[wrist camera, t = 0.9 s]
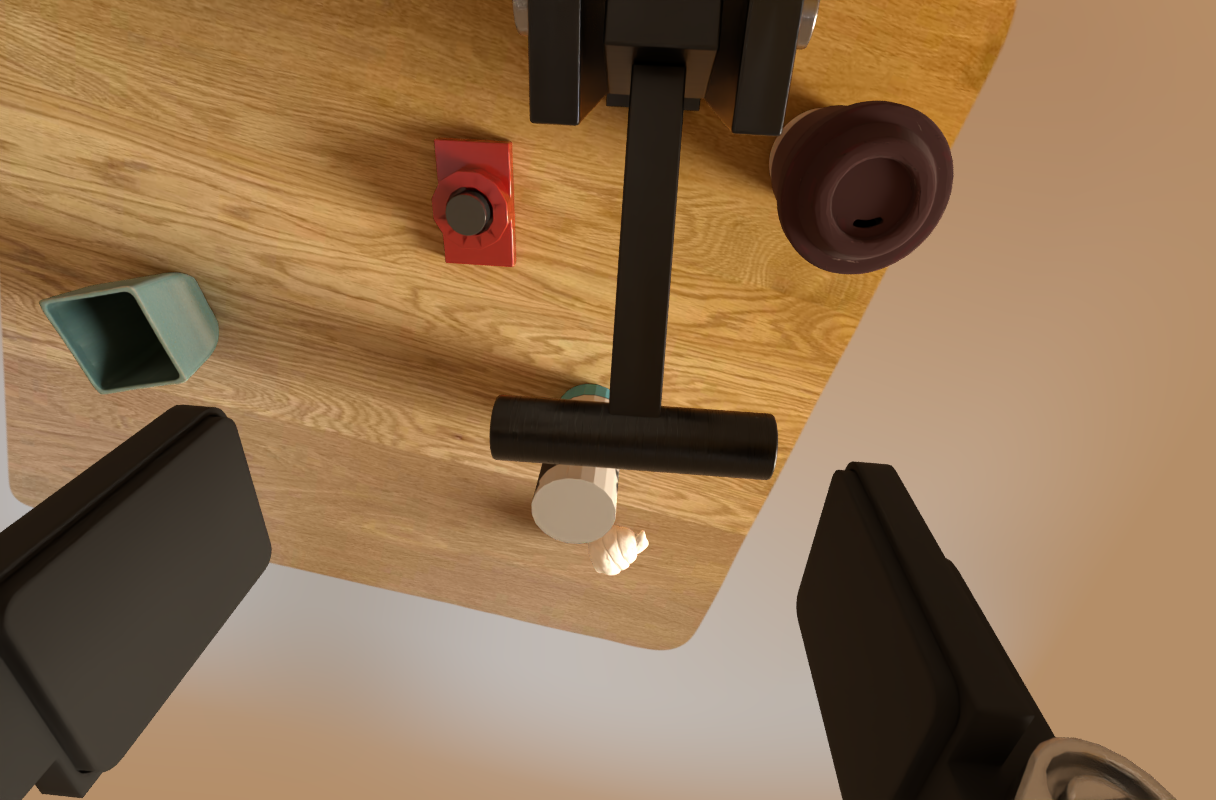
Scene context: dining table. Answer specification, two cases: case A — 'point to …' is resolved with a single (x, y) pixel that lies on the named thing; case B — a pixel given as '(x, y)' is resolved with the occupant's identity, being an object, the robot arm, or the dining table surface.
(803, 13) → the lever bracket
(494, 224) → the button block
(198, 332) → the flower pot
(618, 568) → the garlic bulb
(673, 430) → the t-handle lever
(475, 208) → the button
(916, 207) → the coffee cup
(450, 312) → the dining table surface
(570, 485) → the beige cylindrical canister
